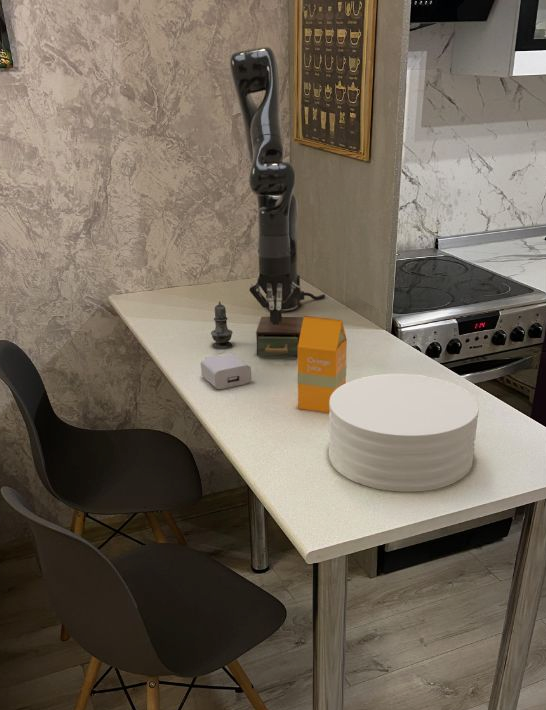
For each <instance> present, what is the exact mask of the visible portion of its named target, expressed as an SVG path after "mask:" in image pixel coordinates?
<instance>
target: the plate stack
mask: <svg viewBox="0 0 546 710" xmlns="http://www.w3.org/2000/svg"><path fill="white" fill-rule="evenodd" d="M479 405H480V404H479V402H478V400H477V398H476V397H475V396H474V395H473V394H472V393H471V392H470V391H468V390H467V389H465V388H464V387H462V386H460V385H458V384H455V383H453V382H451V381H447V380H445V379H442V378H438V377H433V376H428V375H421V374H410V373H384V374H383V373H381V374H374V375H373V374H372V375H367V376H363V377H359V378H356V379H353V380H350V381H347V382H346V383H345V384H343V385H342V386H340V387H339V388H337V389H336V390H335V391H334V392H333V393H332V395H331V397H330V401H329V409H330V412H329V413H328V421H329V423H328V432H329V435H328V458H329V461H330V463H331V465H332V467H333V468H334V469H335V470H336V472H338V473H339V474H341V475H342V476H343V477H345V478H347V479H349V480H350V481H352V482H354V483H357V484H359V485H363V486H365V487H369V488H371V489H376V490H383V491H390V492H399V493H401V492H402V493H405V492H406V493H416V492H426V491H432V490H437V489H441V488H444V487H448V486H450V485H453V484H454V483H456V482H458V481H460V480H462V479H463V478H464V477H465V476H467V474H468V473H469V472H470V470H471V469H472V466H473V460H474V452H475V442H476V437H477V436H476V435H477V429H478V418H479V412H480V406H479Z"/></svg>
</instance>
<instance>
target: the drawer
mask: <svg viewBox="0 0 546 710" xmlns="http://www.w3.org/2000/svg"><path fill="white" fill-rule="evenodd" d="M297 346H298V335H261V337H258V355H257V356H259V357H261V356H262V357H264V356H269V357H271V356H274V357H298V349H297Z"/></svg>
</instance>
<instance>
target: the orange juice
mask: <svg viewBox="0 0 546 710" xmlns="http://www.w3.org/2000/svg"><path fill="white" fill-rule="evenodd" d="M302 317H303V322H302V328H301V333H300V338H299V343H298V346H297V349H298V356H297V409H301V410H307V411H314V412H321V413H327V414H329V412H330V409H329V401H330V397H331V395H332V393H333V392H334V391H335V390H336V389H337V388H339V387H340V386H342V385H343V384H345V383H347V382H346V381H347V347H348V346H347V345H348V343H347V342H348V341H347V340H348V339H347V335H346V331H345V327H344V323H343V320H342V319H334V318H324V317H315V316H305V315H303V316H302Z"/></svg>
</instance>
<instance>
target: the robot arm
mask: <svg viewBox="0 0 546 710" xmlns="http://www.w3.org/2000/svg"><path fill="white" fill-rule="evenodd" d="M229 69H230V76H231V80H232V84H233V88H234V91H235V95H236V99H237V101H238V102H237V103H238V106H239V110H240V114H241V119H242V123H243V129H244V136H245V142H246V147H247V152H248V157H249V162H250V165H251V166H250V170H249V175H248V185H249V188H250V190H251V192H252V193H253V194H254V195H256V200H257V209H258V212H257V219H258V221H257V222H258V238H257V239H258V241H257V253H258V277H257V280H256V282H255V283H254V284H251V285H250V287H249V288H248V289H249V292H250V294H251V295H252V296H253V298H254V299H255V300H256V301H257V302H258V303H259V304H260V306H261V307H262V308H263V309H268V310H269V317H270V321H271V322H273V325H279V322H281V321H282V317H283V313H286V312H292V311H295V310H298V308H299V307H301V301H304V300H305V297H310V298H311V299H313V300H321V299H324V298H326V294H321V295H318V296H316V295H314V294H313V293H310V292H305V291H303V290H301V289H302V287H301V276H300V275H299V274H298V214H299V213H298V212H299V211H298V210H299V205H298V204H299V203H298V198H297V196H296V194H294V190H295V187H296V181H297V173H296V170H295V168H294V166H293V164H292V163H290V162H288V161H284V156H285V151H284V144H283V137H282V129H281V121H280V78H279V68H278V62H277V58H276V55H275V52H274V50H273V48H271V47H270V46H261V47H255V48H249V49H245V50H244V49H243V50H238V51H235V52H233V53H232V54H231V56H230V59H229ZM262 92H264V96H263V98H262V101H261V102H260V103H259V106H258V104H257V103H256V102H255V101H254V99H253V97H252V94H256V93H257V94H258V93H262ZM261 290H262V292H263V293H264V294H265V295H263V294H262V292H261Z"/></svg>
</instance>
